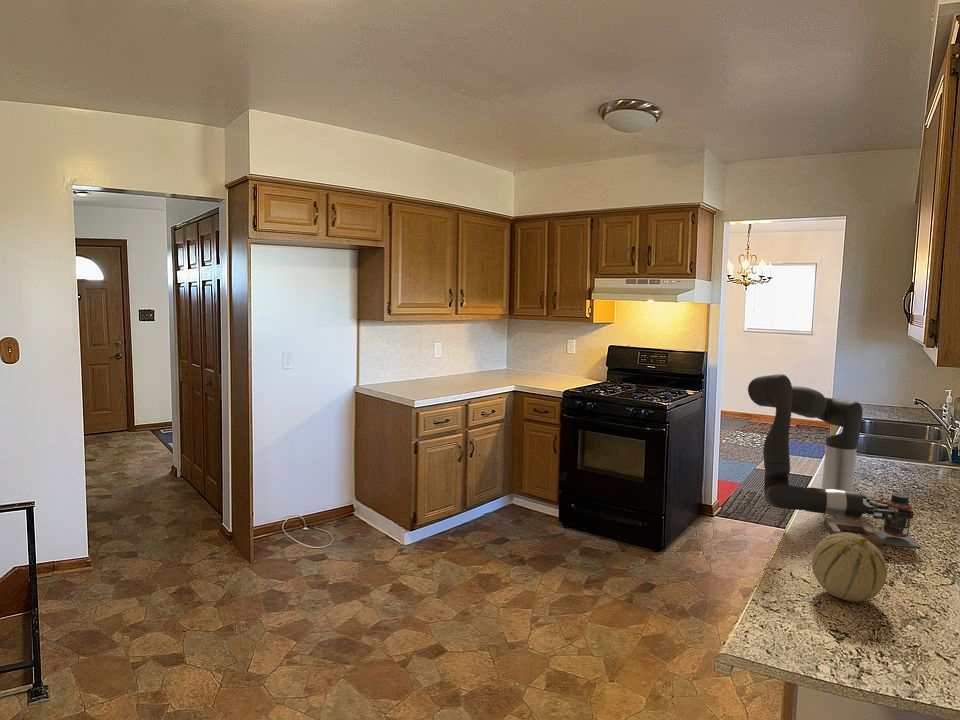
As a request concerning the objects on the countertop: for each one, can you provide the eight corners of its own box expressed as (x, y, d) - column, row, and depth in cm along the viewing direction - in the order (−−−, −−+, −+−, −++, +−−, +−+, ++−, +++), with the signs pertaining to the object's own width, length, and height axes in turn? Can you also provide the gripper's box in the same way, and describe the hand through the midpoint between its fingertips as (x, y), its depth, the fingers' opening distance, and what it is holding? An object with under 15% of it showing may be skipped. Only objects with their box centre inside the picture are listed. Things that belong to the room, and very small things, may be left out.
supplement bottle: (912, 539, 174) (917, 499, 172) (888, 536, 175) (893, 497, 173) (902, 531, 179) (907, 492, 178) (879, 528, 181) (884, 490, 179)
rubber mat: (872, 532, 183) (872, 530, 183) (908, 536, 180) (908, 534, 180) (882, 543, 174) (882, 542, 174) (920, 548, 172) (920, 546, 172)
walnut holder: (824, 522, 190) (824, 517, 189) (865, 527, 187) (865, 522, 186) (837, 542, 174) (838, 537, 174) (882, 548, 171) (883, 542, 171)
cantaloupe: (816, 576, 153) (822, 517, 151) (887, 595, 144) (894, 533, 142) (802, 598, 142) (807, 534, 140) (878, 621, 133) (885, 553, 131)
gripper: (849, 498, 173) (920, 506, 168) (836, 483, 187) (901, 490, 182) (846, 524, 174) (916, 533, 169) (833, 507, 188) (898, 515, 183)
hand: (908, 511), depth 176 cm, fingers closed on supplement bottle, 6 cm apart
